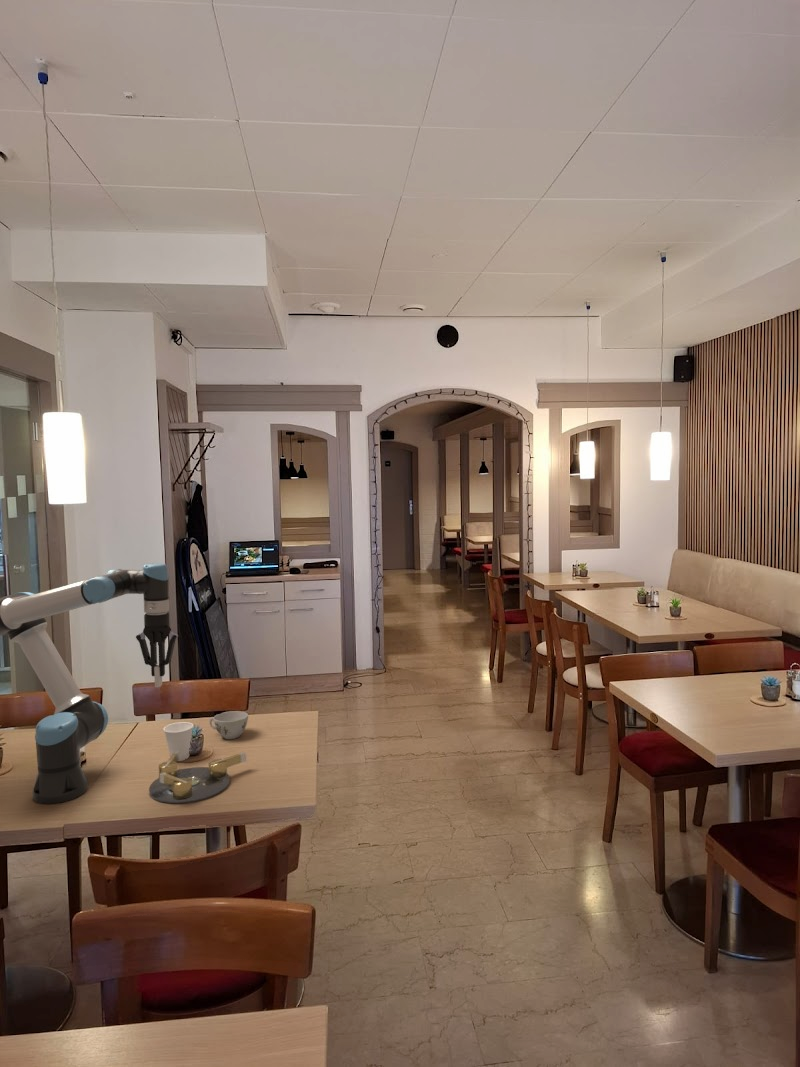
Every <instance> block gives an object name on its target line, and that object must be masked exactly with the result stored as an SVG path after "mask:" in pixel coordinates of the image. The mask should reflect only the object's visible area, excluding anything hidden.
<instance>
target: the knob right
mask: <svg viewBox="0 0 800 1067" xmlns="http://www.w3.org/2000/svg"><path fill="white" fill-rule="evenodd" d="M245 762H247V753H246V752H245V751H242V752H239V753H236V754H234V755H230V756H228V757H225V758H223V759H222V758H218V759H212V760H210V761H209V762H208V767H209V777H210V778H213V779H218V778H222V777H225V776H226V775H227V774H228V768H229V767H233V766H236V765H239V764H243V763H245Z"/></svg>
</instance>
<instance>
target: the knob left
mask: <svg viewBox="0 0 800 1067" xmlns="http://www.w3.org/2000/svg"><path fill="white" fill-rule="evenodd" d="M178 760H179V751H176V752H173V754H172V755H171V757H170V756H169V758H168V759H167V761H163V762H161V763H159V764H158V778H159V779H160V774H161V773H163V772H165V773H167V774H169V775H172V776H174V777H178V771H177V770H178V762H179V761H178Z"/></svg>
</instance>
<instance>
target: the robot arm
mask: <svg viewBox="0 0 800 1067" xmlns="http://www.w3.org/2000/svg"><path fill="white" fill-rule="evenodd" d="M169 580H170V577H169V569H168V565H167V564H165V563H162V562H161V563H159V562H158V563H146V564H144V565H143V567H142V569H122V568H118V569H110V570H107V573H105V574H102V575H97V576H95V577H94V576H93V577H92V578H88V579H85V580H82V581H78V582H74V583H70V584H67V585H63V586H60V587H59V586H58V587H56V588H52V589H49V590H45V591H42V592H41V591H40V592H39V593H33V592H29V591H27V592H26V591H24V592H15V593H13V594H9V595H6V596H2V597H0V636H4V635H5V636H6V635H7V636H8V638H9V640H10V641H11V642H12V643H17V644H19V646H20V648H21V650H22V652H23V653H24V655H25V657H26V658H27V660H28V662H29V663H30V665H31V667H32V669H33V670H34V673H35V674H36V676H37V678H38V679H39V681H40V683H41V684H42V686H43V688H44V689H45V691H46V694H47V695H48V697H49V699H50V700H51V702H52V703H53V705H54V707H55V708H54V709H55V710H54V712H53V713H54V714H53V715H47V716H46V717H44V718H42V719H41V720H39V722H38V723H37V724H36V727H35V735H34V739H35V746H36V759H37V760H36V761H37V775H36V778H35V781H34V782H35V783H34V786H33V789H32V798H33V799H32V800H33V801H34V802H36V803H39V804H45V805H50V804H51V805H52V804H58V803H64V802H68V801H71V800H74V799H76V798H78V797H80V796H82V795H83V794H85V793H86V792H87V790H88V788H89V787H88V786H89V785H88V779H87V777H86V774H85V773H84V770H83V769H82V768H83V767H82V766H81V760H80V759H81V758H80V750H81V749H82V748H83V747H85V746H86V745H88V744H90V743H92V742H93V741H95V740H97V739H98V738H99V737H100V736H101V735H102V734H103V733H104V732H105V730H106V728H107V726H108V723H109V717H108V716H109V715H108V714H109V713H108V712H107V709H106V707H104V706H103V705H102V704H101V703H98V702H97V701H93V699H92V698H91V696H90V695H89V694H86V693H83V692H82V691H81V690H80V688H79V686H78V684H77V683H76V681H75V679H74V678H73V676H72V674H71V671H70V670H69V669H68V667H67V666H66V664H65V661H64V660H63V658H62V656H61V655H60V653H59V651H58V650H57V647H56V646H55V644H54V642H53V641H52V638H51V637H50V635H49V633H48V632H47V630H46V629H47V626H48V622H47V620H46V619H45V618H47V617H50V616H54V615H58V614H62V613H65V612H69V611H73V610H77V609H79V608H84V607H87V606H91V605H95V604H101V603H104V602H107V601H109V600H112V599H115V598H118V597H122V596H123V595H129V594H130V595H133V594H134V595H135V594H138V595H143V612H144V613H145V614H143V620H144V621H143V622H144V623H143V624H144V628H143V630H142V632H141V633H138V634H137V635H136V636H135V639H136V641H138V643H139V646H140V650H141V654H142V658H143V661H144V664H145V665H146V666H150V668H151V676H152V677H154V688H161V687H162V685H163V677H164V676H165V674H166V666H167V665H169V664H170V663H171V662H172V657H173V653H174V649H175V645H176V641H177V639H178V637H179V634H178V633H174V632H173V631H172V628H171V626H170V613H169V611H170V596H169V594H170V593H169V585H170V584H169ZM168 636H169V642H168V646H167V650H166V647H165V646H166V645H165V644H166V640H167V638H168ZM146 638H147V640H148V641H149V646H150V649H149V647H148V645H147V644H148V643H147V640H146ZM157 646H158V647H157ZM149 650H150V652H149ZM157 652H158V653H157Z"/></svg>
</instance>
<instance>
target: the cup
mask: <svg viewBox="0 0 800 1067" xmlns="http://www.w3.org/2000/svg"><path fill="white" fill-rule="evenodd" d="M193 729H194V724H193V723H192V722H188V721H178V722H173V723H170V724H166V726H164V727H163V729H162V730H163V732H164V736H165V740H166V745H167V748H168V749H167V750H168V752H169V758H170V757H171V755H172V754H173V752H176V751H179V760H178V761H177V762H182V761H186V760H187V759H188V758H189V757H190V754H189V748H190V749H191V745H190V741H191V742H192V738H193ZM185 759H186V760H185Z"/></svg>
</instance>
